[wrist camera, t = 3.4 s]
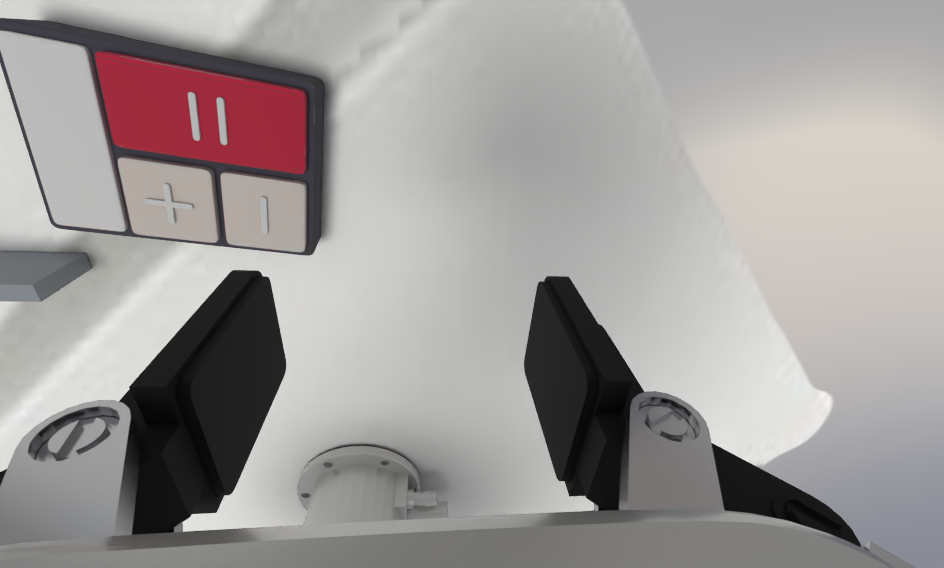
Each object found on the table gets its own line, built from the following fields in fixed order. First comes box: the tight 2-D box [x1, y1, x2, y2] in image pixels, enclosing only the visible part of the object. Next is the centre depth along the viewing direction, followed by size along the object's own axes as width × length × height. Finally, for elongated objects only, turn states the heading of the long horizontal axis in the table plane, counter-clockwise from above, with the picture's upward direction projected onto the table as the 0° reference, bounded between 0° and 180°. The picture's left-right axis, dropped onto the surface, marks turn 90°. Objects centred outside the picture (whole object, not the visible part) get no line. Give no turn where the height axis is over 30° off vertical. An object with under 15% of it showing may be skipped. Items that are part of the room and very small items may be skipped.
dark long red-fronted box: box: [0, 18, 324, 255], centre depth 25 cm, size 11×4×15 cm
